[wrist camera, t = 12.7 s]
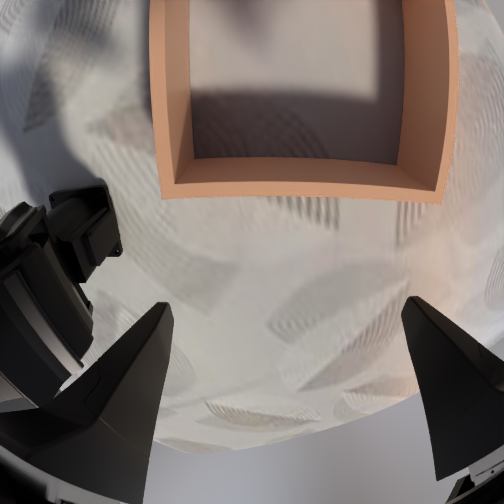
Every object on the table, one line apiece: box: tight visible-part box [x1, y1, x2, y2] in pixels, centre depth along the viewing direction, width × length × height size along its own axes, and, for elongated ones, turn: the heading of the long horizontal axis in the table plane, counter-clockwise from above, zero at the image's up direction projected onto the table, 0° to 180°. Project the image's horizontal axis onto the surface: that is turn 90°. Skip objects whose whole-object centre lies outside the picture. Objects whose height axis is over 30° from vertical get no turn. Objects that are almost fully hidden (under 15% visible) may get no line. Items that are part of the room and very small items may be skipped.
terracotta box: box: [149, 0, 459, 205], centre depth 12 cm, size 17×17×6 cm
